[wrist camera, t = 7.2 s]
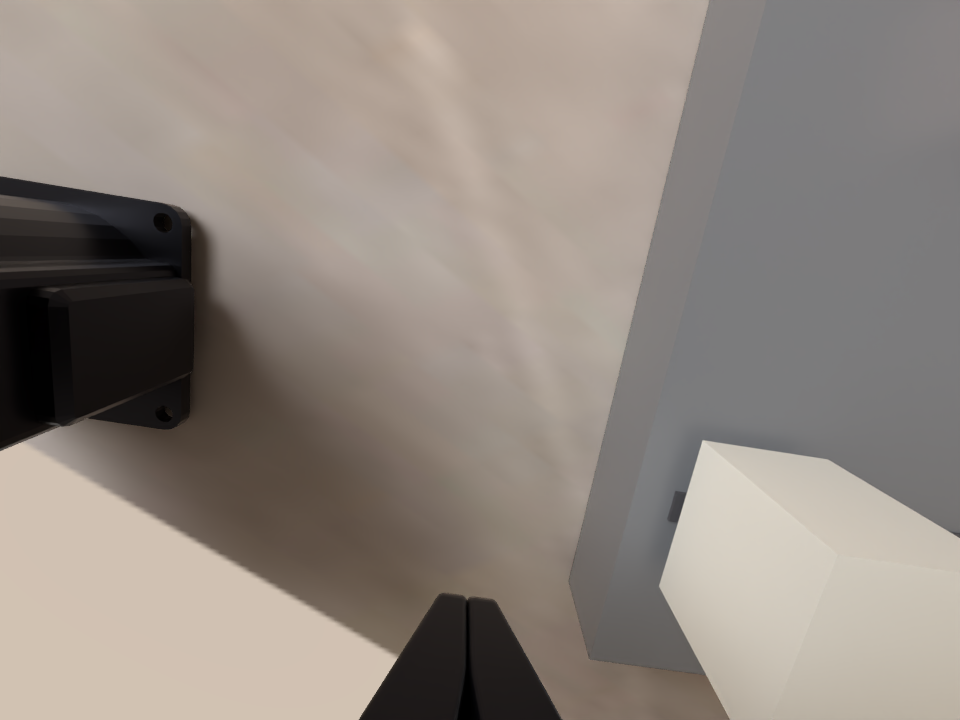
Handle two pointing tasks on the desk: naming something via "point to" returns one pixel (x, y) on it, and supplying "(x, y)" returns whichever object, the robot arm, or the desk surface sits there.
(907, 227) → the fader console
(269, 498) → the desk surface
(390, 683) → the robot arm
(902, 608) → the cream fader
